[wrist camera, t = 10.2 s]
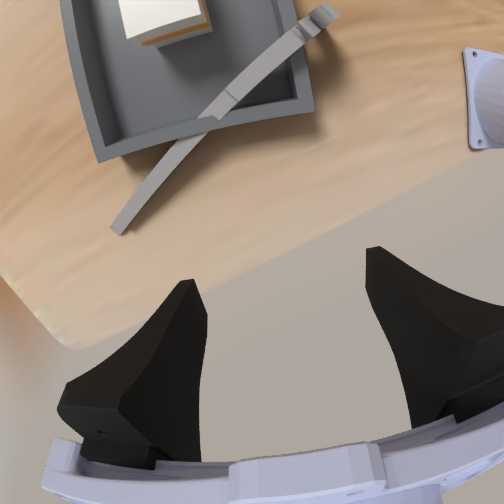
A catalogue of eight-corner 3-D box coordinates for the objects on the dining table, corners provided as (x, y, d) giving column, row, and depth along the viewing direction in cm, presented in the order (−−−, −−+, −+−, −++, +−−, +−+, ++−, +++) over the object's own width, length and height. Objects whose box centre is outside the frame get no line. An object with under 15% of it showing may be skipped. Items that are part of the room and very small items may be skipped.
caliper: (311, 15, 14) (339, -12, 9) (323, 27, 15) (356, 5, 9) (111, 225, 22) (75, 272, 16) (122, 233, 22) (89, 282, 17)
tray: (252, -99, 9) (253, -120, 6) (305, 107, 17) (315, 111, 15) (75, -44, 10) (55, -54, 7) (117, 151, 18) (98, 163, 16)
